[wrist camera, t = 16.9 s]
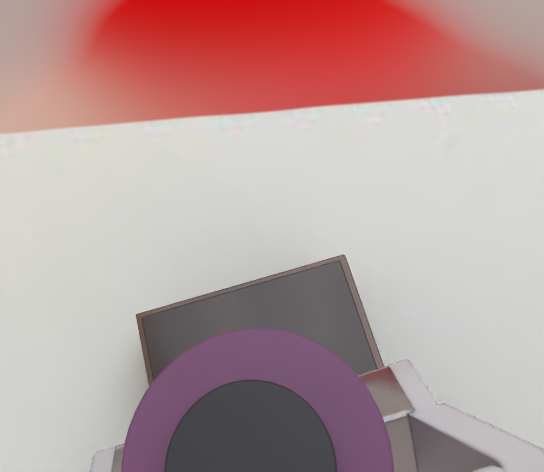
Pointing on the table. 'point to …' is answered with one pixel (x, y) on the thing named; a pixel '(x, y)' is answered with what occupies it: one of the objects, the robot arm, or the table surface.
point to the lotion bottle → (257, 411)
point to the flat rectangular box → (268, 316)
